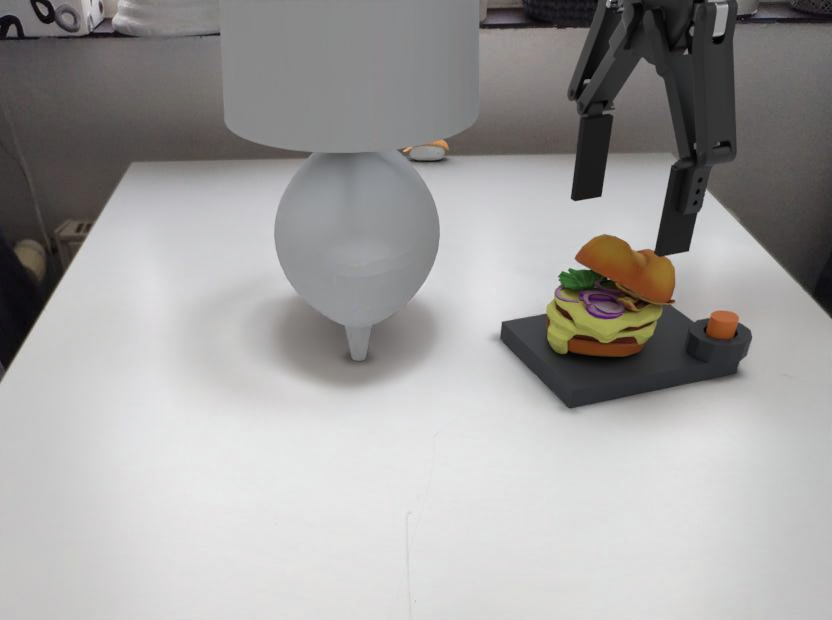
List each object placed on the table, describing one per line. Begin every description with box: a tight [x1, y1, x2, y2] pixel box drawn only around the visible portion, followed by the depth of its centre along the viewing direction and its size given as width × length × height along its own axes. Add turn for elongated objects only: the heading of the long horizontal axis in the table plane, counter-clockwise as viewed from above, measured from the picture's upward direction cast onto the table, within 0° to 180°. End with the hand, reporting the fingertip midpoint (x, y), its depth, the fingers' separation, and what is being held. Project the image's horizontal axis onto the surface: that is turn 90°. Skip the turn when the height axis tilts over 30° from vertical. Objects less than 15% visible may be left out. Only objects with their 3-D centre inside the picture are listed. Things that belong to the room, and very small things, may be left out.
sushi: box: [402, 139, 450, 162], centre depth 124 cm, size 3×6×3 cm, turn 88°
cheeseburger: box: [545, 233, 676, 357], centre depth 80 cm, size 10×11×10 cm
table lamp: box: [218, 0, 480, 362], centre depth 75 cm, size 23×22×40 cm
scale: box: [499, 304, 753, 409], centre depth 83 cm, size 18×15×4 cm
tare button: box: [706, 309, 740, 339], centre depth 79 cm, size 2×2×2 cm
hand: (626, 224), depth 76 cm, fingers open, 13 cm apart
